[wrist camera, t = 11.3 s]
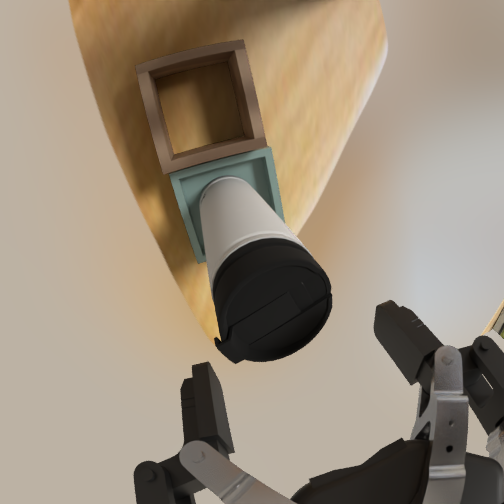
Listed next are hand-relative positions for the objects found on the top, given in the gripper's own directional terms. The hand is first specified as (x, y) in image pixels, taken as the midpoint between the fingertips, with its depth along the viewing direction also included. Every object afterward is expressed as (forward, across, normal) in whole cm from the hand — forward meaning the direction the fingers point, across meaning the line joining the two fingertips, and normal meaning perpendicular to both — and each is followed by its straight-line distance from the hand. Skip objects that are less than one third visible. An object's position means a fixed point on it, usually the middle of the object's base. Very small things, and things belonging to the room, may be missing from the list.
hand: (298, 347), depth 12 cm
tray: (+22, 0, 0) cm, 22 cm away
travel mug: (+22, 0, 0) cm, 22 cm away
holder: (+22, +1, -11) cm, 25 cm away
